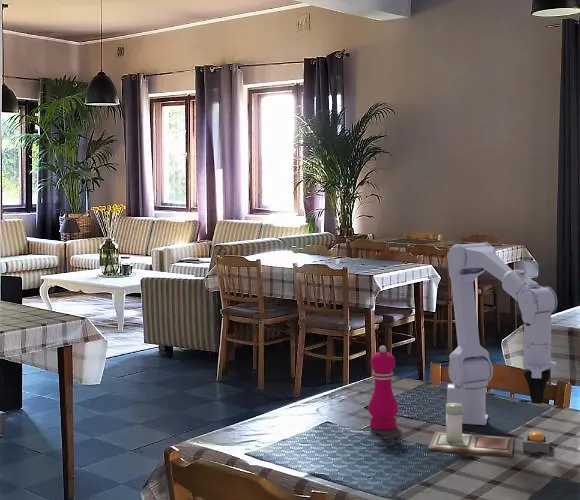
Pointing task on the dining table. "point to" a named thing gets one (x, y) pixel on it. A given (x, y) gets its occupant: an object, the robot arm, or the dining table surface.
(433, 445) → the picture board
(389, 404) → the pepper mill
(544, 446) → the button housing
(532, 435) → the button
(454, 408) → the white and green cylinder
